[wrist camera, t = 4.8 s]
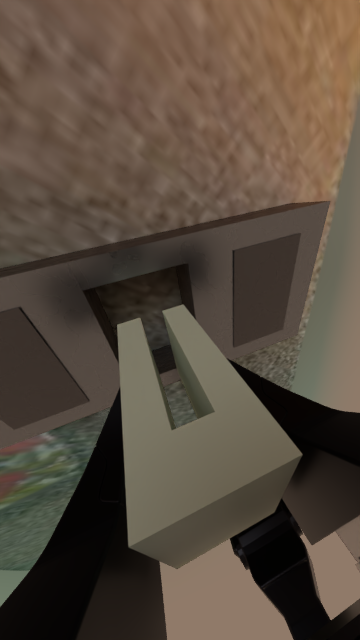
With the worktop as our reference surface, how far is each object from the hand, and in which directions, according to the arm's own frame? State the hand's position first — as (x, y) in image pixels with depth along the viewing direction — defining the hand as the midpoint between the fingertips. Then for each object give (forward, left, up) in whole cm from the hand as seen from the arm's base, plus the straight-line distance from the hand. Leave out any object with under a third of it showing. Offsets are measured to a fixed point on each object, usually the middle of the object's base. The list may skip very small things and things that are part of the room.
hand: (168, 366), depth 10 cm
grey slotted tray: (0, 0, -6) cm, 6 cm away
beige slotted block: (0, 0, -2) cm, 2 cm away
